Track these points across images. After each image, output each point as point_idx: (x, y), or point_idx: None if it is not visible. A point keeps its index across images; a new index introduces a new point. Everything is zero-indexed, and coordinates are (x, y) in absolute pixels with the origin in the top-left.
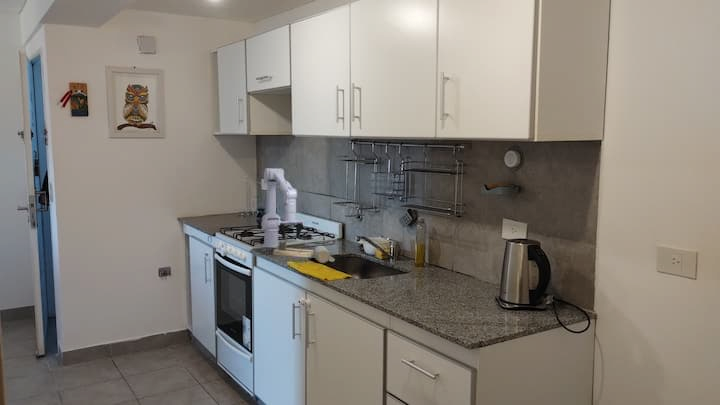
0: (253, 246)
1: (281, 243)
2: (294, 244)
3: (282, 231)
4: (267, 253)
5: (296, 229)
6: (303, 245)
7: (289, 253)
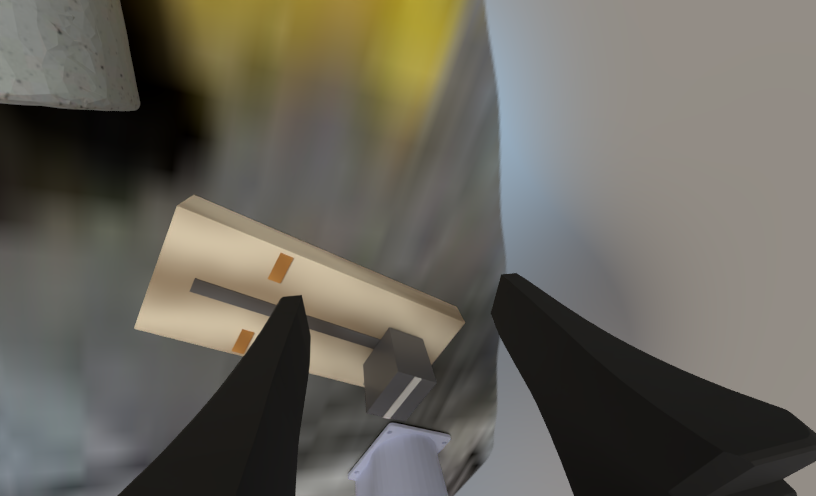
0: (480, 440)
1: (419, 372)
2: None
3: (633, 347)
4: (475, 332)
5: (292, 491)
6: None
7: (364, 276)
